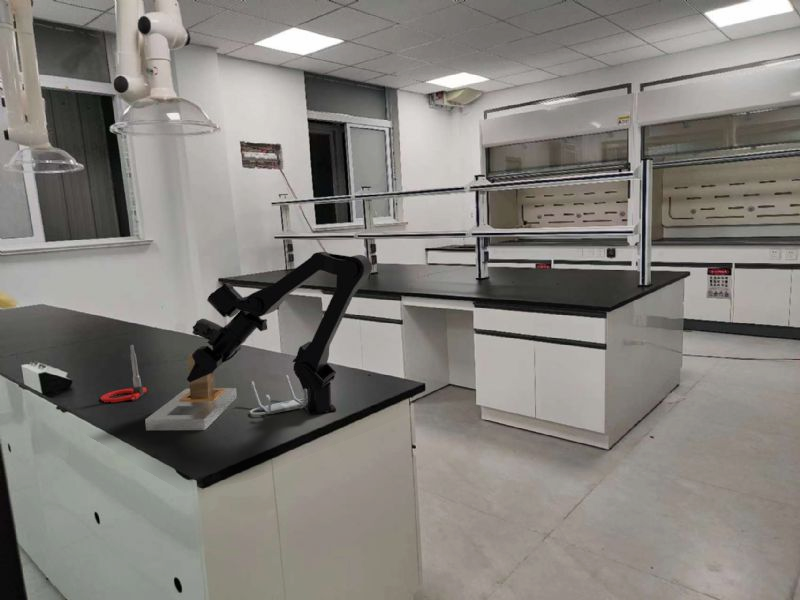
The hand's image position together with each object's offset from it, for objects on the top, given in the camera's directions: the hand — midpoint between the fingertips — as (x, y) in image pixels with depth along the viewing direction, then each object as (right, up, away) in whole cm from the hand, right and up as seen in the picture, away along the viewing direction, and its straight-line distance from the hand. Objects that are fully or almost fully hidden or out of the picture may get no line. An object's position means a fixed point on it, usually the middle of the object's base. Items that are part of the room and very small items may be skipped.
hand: (195, 375), depth 136 cm
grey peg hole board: (+1, -8, -4) cm, 9 cm away
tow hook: (-22, -7, +8) cm, 25 cm away
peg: (+1, -7, +1) cm, 8 cm away
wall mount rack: (+21, -8, -1) cm, 22 cm away
